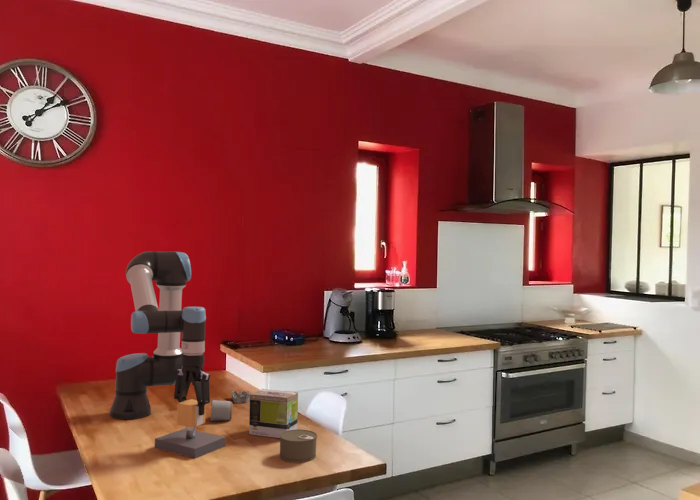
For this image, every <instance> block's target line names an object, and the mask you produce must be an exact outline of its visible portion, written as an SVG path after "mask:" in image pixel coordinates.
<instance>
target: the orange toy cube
mask: <svg viewBox="0 0 700 500" xmlns="http://www.w3.org/2000/svg"><path fill="white" fill-rule="evenodd" d="M197 404H198V403H197V399H193V398H191V399H187V400H185V401H183V402H180V403H179V402H177V407H176V408H177V413H176V417H177V418H176V425H178V426H182V427H186V426H187V427H191V428H192V427H194V426H195V417H196V405H197ZM206 409H207V404H205V409H204V415H203V424H205V423H206Z"/></svg>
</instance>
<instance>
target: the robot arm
mask: <svg viewBox="0 0 700 500" xmlns="http://www.w3.org/2000/svg"><path fill="white" fill-rule="evenodd" d="M191 265H192V264H191V261H190V258H189V256H188V254H187V253H185V252H181V251H153V250H152V251H151V250H150V251H143V252H141V253H139V254H137V255H136V256H134V257H133V258H132V259H131V260H130V261H129V262H128V264H127V266H126V269H125V276H126V280H127V282H128V283H129V284H130V288H131V294H132V299H133V304H134V310H135V311H133V312H132V313H131V315H130V330H131V332H132V333H133V334H137V335H138V334H141V335H147V334H158V335H157V348H156V349H155V350H154V351H153V354H152V356H149V355H148V353H146V352H141V353H140V352H139V353H138V352H137V353H131V354H126V355H124V356H121V357H119V358H118V359H117V360H116V363H115V393H114V394H115V395H114V398H113V402H112V404H111V407H110V409H109V416H110V418H112V419H116V420H117V419H118V420H134V419H140V418H145V417H147V416H149V415H151V411H152V410H151V409H152V407H151V404H150V400H149V398H148V397H149V396H148V394H147V393H148V392H147V391H148V390H147V389H148V388H149V387H156V386H157V387H159V386H172V385H174V392H173V398H174V400H177V403H180V402H183V401H187V400H188V398H187V396H188V393H189V389H190V386H191V383H192V386H193V389H194V394H195V397H196V400H197V403H198V404H197V405H196V417H195V426H196V427H198V426H201V425H203V424H204V423H203V415H204V409H205V404H206V405H207V404H208V405H209V404H210V402H211V398H210V397H211V396H210V394H211V393H210V378H211V373H209V372H205V371H204V369H203V367H204V365H205V354H204V353H205V351H206V348H205V347H206V346H205V345H206V320H207V315H206V308H205V307H203V306H185V307H183V309H182V299H183V289H184V288H186V286H187V282H189V281H191V279H192V267H191ZM154 281H156V282H155V286H157V288H158V289H159V304H158V302H157V297H156V293H155V288H154V285H153V282H154ZM180 343H181V344H180ZM180 346H181V347H180Z"/></svg>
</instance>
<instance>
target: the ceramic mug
mask: <svg viewBox="0 0 700 500" xmlns="http://www.w3.org/2000/svg"><path fill="white" fill-rule="evenodd" d="M210 410H211V411H210V421H211V422H216V421H219V422H220V421H231V420H232V416H233V402H232V401H230V400H216V399H213V400H211V406H210Z"/></svg>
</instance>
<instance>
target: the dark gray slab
mask: <svg viewBox="0 0 700 500" xmlns="http://www.w3.org/2000/svg"><path fill="white" fill-rule="evenodd" d="M226 439H227V438H226V437H225V436H223V435H218V434H213V433H209V432H207V431H206V432H205V431H201V430H197V429H195V438H194V439H186V427H184V428H182V429H180V430H177V431H173V432H170V433H168V434H164V435H162V436H159V437H156V438H154V448H155V449H158V450H161V451H165V452H169V453H173V454H177V455H181V456H184V457H187V458H192V459H197V458H200V457H202V456H204V455H207V454H209V453H211V452H214V451H216V450H220V449H222V448H224V447H226Z"/></svg>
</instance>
